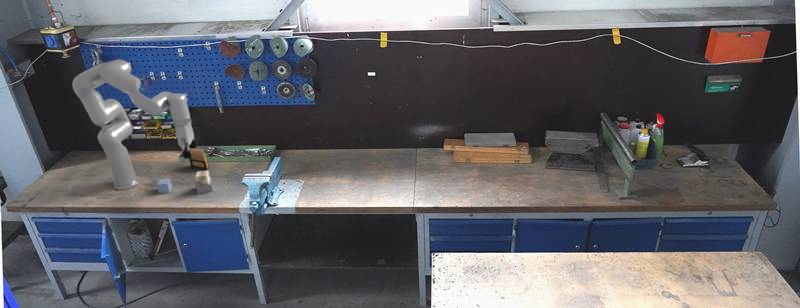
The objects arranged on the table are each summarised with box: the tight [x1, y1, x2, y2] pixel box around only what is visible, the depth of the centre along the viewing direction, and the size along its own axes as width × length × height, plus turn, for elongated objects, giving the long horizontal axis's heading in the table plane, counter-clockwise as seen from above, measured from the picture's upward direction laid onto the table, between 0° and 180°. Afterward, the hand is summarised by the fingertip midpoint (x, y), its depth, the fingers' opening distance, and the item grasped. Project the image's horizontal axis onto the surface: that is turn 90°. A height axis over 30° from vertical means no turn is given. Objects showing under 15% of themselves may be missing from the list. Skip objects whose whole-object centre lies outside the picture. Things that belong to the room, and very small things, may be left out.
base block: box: [195, 177, 214, 195], centre depth 268 cm, size 7×7×4 cm
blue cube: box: [156, 178, 173, 194], centre depth 269 cm, size 5×5×5 cm
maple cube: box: [195, 170, 211, 186], centre depth 266 cm, size 5×5×5 cm
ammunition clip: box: [188, 147, 210, 171], centre depth 285 cm, size 11×2×12 cm, turn 68°
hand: (190, 153), depth 260 cm, fingers open, 9 cm apart
